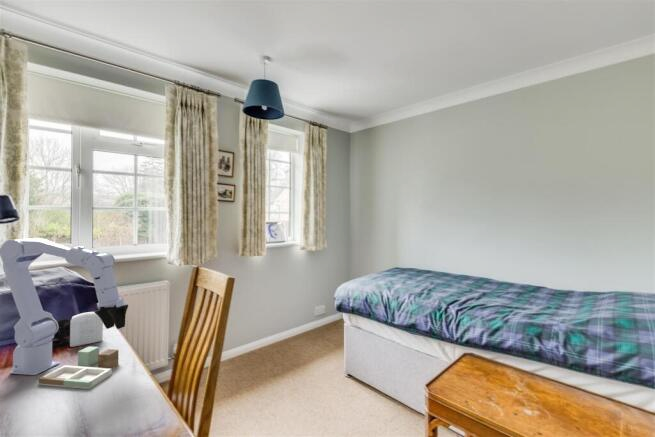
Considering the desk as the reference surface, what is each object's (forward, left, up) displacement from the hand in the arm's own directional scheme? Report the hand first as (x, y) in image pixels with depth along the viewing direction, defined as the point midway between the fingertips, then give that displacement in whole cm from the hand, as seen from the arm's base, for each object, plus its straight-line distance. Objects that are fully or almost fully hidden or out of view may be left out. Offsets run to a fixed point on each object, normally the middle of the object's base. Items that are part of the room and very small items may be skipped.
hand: (115, 327), depth 99 cm
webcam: (-37, +14, -14) cm, 42 cm away
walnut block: (-3, +1, -14) cm, 14 cm away
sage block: (-12, +2, -14) cm, 18 cm away
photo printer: (-28, +16, -14) cm, 35 cm away
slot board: (-6, -8, -14) cm, 17 cm away
